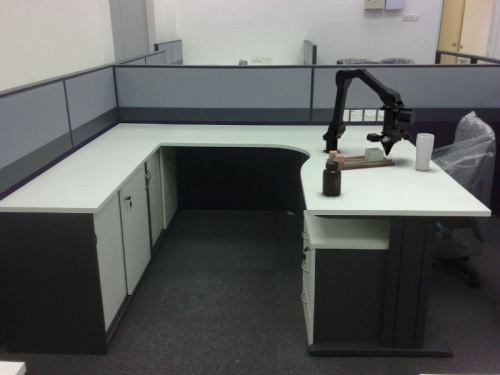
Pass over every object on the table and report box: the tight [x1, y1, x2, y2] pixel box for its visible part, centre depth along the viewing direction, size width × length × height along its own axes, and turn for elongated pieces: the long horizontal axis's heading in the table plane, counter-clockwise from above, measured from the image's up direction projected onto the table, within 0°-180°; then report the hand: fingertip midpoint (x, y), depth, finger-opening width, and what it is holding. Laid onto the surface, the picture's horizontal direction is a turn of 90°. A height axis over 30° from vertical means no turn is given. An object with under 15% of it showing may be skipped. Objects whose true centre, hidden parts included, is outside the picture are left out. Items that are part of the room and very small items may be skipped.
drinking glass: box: [415, 133, 435, 172], centre depth 196 cm, size 7×7×15 cm
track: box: [326, 151, 395, 171], centre depth 208 cm, size 14×26×6 cm, turn 102°
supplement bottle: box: [321, 160, 342, 197], centre depth 171 cm, size 7×7×12 cm
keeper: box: [364, 147, 385, 161], centre depth 209 cm, size 6×6×4 cm
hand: (386, 155), depth 210 cm, fingers closed
